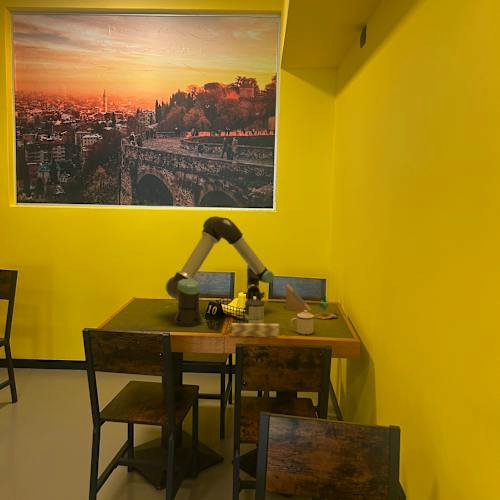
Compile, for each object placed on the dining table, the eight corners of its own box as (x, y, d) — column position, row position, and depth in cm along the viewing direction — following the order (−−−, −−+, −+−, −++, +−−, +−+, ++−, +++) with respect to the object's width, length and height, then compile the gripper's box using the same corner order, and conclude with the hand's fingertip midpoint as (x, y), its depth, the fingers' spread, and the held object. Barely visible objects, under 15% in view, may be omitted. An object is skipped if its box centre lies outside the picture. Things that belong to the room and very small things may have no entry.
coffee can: (240, 327, 252) (241, 302, 250) (252, 323, 260) (253, 299, 258) (255, 332, 245) (256, 305, 243) (267, 327, 253) (268, 302, 251)
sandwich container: (310, 311, 289) (311, 287, 287) (285, 309, 291) (286, 286, 289) (311, 307, 297) (312, 284, 295) (287, 306, 300) (287, 283, 298)
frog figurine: (340, 321, 269) (339, 296, 267) (309, 322, 273) (307, 297, 271) (341, 316, 278) (339, 292, 276) (311, 317, 282) (309, 293, 280)
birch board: (231, 336, 237) (231, 324, 236) (231, 334, 240) (231, 323, 239) (278, 337, 238) (279, 325, 237) (278, 335, 241) (278, 323, 240)
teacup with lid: (313, 330, 251) (314, 308, 249) (313, 335, 242) (314, 313, 240) (290, 328, 252) (291, 307, 251) (290, 334, 243) (291, 312, 242)
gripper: (264, 297, 286) (266, 308, 262) (242, 297, 285) (243, 307, 262) (264, 285, 285) (266, 294, 261) (242, 285, 284) (243, 294, 261)
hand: (254, 301), depth 262 cm, fingers closed
